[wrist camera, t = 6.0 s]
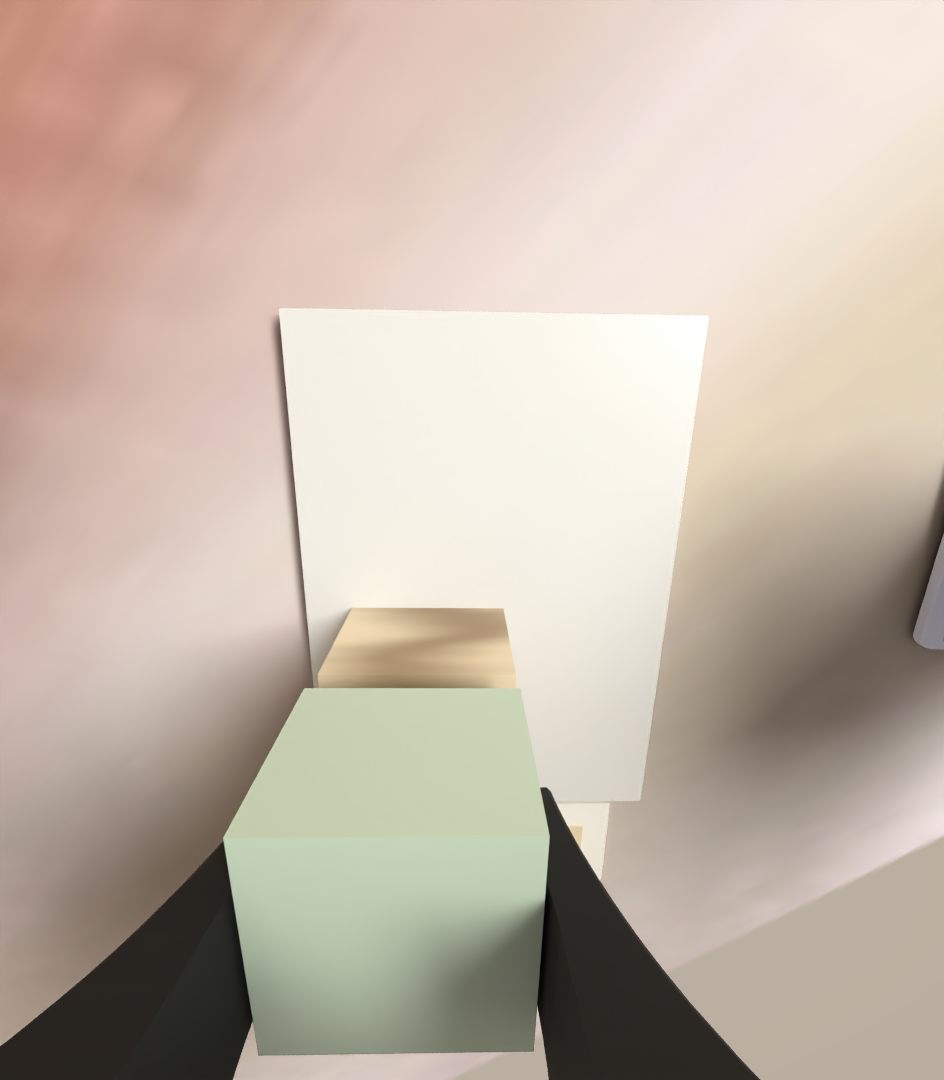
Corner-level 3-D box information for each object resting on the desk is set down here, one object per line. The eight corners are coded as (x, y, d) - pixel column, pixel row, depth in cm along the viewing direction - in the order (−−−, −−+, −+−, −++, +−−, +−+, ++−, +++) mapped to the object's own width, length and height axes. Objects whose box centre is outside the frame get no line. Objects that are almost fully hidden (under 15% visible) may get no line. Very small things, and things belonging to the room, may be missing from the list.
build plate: (699, 318, 14) (709, 316, 14) (634, 789, 19) (640, 801, 19) (286, 311, 14) (278, 307, 13) (328, 790, 19) (323, 802, 18)
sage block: (520, 688, 11) (549, 836, 8) (512, 855, 13) (533, 1051, 9) (304, 688, 11) (222, 838, 7) (320, 856, 13) (258, 1056, 9)
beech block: (503, 608, 16) (516, 675, 12) (498, 735, 18) (508, 830, 14) (351, 607, 16) (317, 674, 12) (360, 735, 18) (331, 830, 14)
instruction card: (608, 799, 19) (610, 804, 19) (599, 875, 21) (601, 881, 20) (456, 799, 19) (457, 805, 19) (456, 877, 20) (456, 882, 20)
